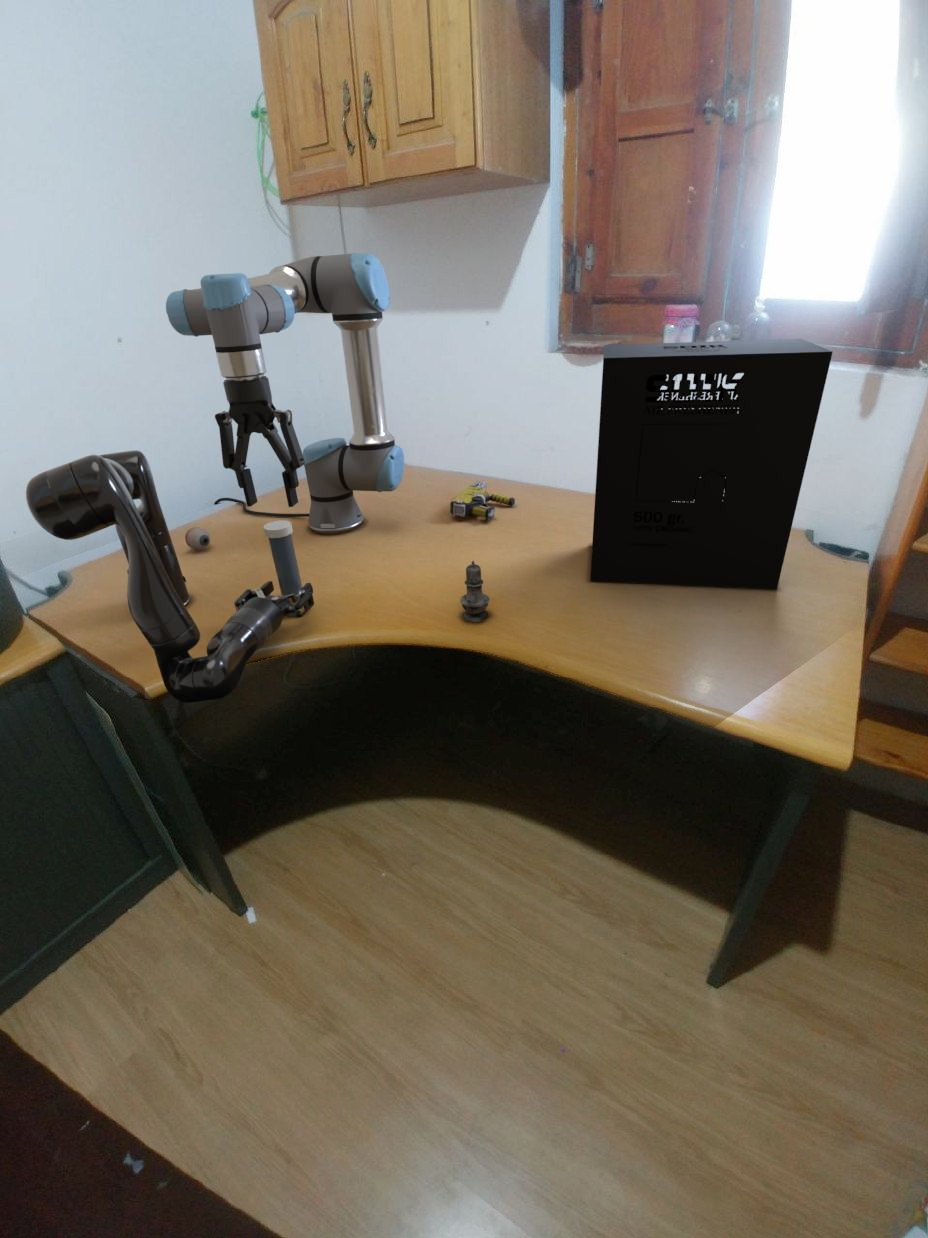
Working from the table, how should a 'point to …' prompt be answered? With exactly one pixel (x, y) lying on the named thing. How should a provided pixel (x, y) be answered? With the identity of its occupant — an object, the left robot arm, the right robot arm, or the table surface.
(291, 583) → the bottle
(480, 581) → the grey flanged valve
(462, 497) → the toy gun
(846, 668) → the table surface
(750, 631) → the table surface
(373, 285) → the right robot arm
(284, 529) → the lid
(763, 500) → the cardboard box
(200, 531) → the eyeball
